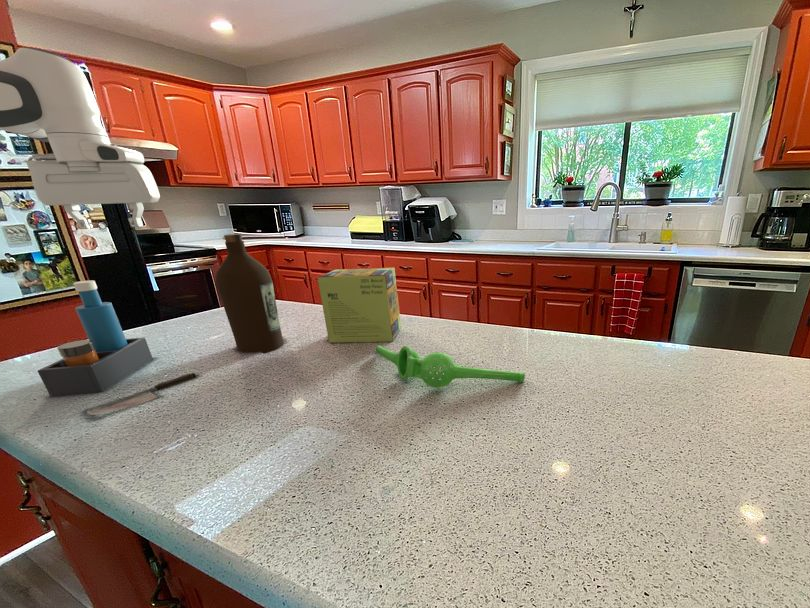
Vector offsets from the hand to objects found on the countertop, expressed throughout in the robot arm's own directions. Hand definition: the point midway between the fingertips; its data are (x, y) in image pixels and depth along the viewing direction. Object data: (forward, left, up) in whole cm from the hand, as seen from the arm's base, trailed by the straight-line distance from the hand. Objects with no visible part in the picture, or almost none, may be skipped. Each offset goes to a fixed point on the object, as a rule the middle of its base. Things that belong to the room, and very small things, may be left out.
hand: (112, 227), depth 82 cm
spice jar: (-11, -17, -26) cm, 33 cm away
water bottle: (-7, -11, -26) cm, 29 cm away
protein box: (+39, -29, -27) cm, 55 cm away
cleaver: (-4, -31, -27) cm, 41 cm away
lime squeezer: (+35, -60, -27) cm, 74 cm away
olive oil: (+18, -18, -27) cm, 37 cm away
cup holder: (-9, -14, -27) cm, 32 cm away
